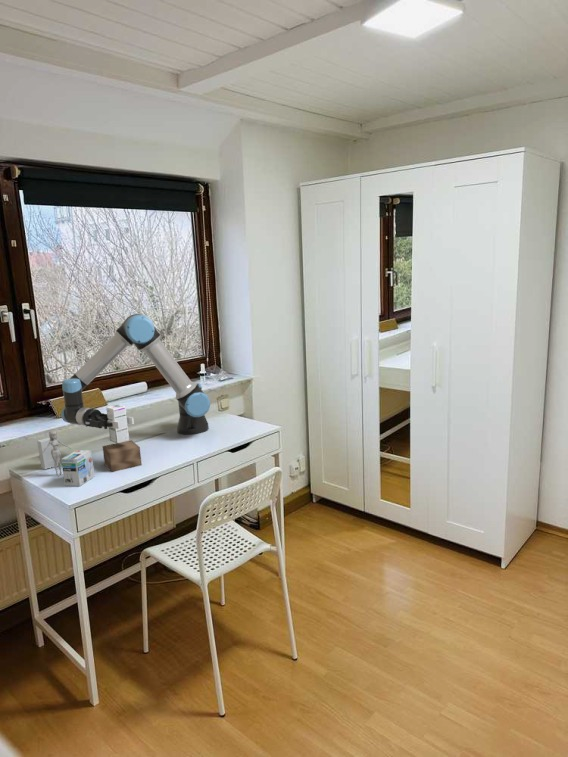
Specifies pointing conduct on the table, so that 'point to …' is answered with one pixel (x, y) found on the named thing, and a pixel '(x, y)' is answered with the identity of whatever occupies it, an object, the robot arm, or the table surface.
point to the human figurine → (55, 450)
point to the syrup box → (120, 416)
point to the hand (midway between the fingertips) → (126, 423)
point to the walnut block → (122, 455)
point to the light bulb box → (78, 468)
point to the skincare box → (45, 453)
